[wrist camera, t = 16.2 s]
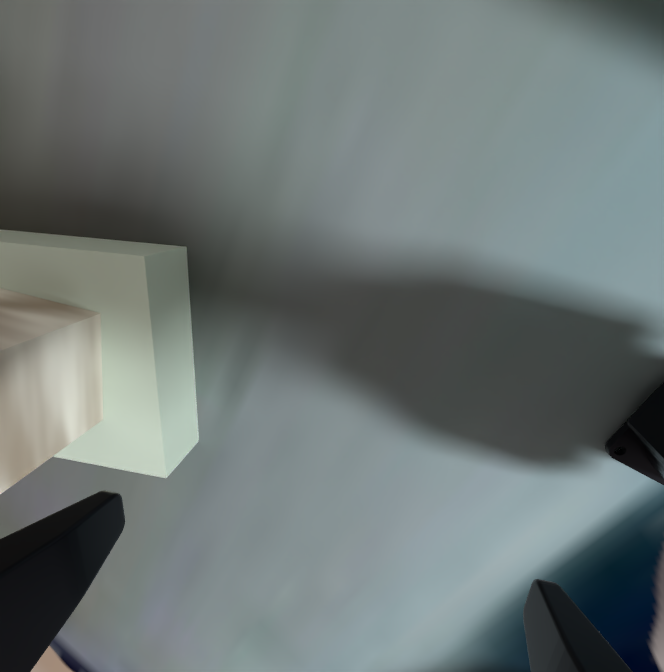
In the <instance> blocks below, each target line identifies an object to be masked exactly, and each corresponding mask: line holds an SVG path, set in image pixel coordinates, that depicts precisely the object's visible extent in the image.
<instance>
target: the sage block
mask: <svg viewBox="0 0 664 672" xmlns="http://www.w3.org/2000/svg"><path fill="white" fill-rule="evenodd" d="M0 288H2V289H6V290H10V291H14V292H18V293H22V294H26V295H30V296H34V297H38V298H42V299H46V300H50V301H54V302H58V303H62V304H66V305H70V306H74V307H78V308H82V309H86V310H90V311H94V312H98V313H101V347H102V387H103V420H102V421H101V422H99V423H98V424H96V425H95V426H94V427H92V428H91V429H90V430H88V431H87V432H85V433H84V434H83V435H81V436H80V437H79V438H77V439H76V440H74V441H73V442H72V443H70V444H69V445H68V446H66V447H65V448H63V449H62V450H61V451H59V452H58V453H57V454H55V455H54V456H53V457H58V458H63V459H69V460H74V461H79V462H84V463H89V464H95V465H100V466H105V467H110V468H116V469H121V470H126V471H131V472H136V473H142V474H147V475H152V476H157V477H163V478H167V477H168V476H169V475H170V474H171V472H172V471H173V470H174V469H175V468H176V467H177V465H178V464H179V463H180V462H181V461H182V460H183V459H184V457H185V456H186V455H187V454H188V453H189V452H190V450H191V449H192V448H193V447H194V446H195V445H196V444H197V442H198V441H199V434H198V419H197V403H196V387H195V372H194V356H193V340H192V325H191V309H190V293H189V278H188V262H187V247H184V246H174V245H163V244H152V243H141V242H130V241H120V240H109V239H98V238H87V237H77V236H66V235H55V234H44V233H34V232H23V231H12V230H1V229H0Z"/></svg>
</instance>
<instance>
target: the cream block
mask: <svg viewBox="0 0 664 672" xmlns="http://www.w3.org/2000/svg"><path fill="white" fill-rule="evenodd" d="M102 420H103V387H102V347H101V313H98V312H94V311H90V310H86V309H82V308H78V307H74V306H70V305H66V304H62V303H58V302H54V301H50V300H46V299H42V298H38V297H34V296H30V295H26V294H22V293H18V292H14V291H10V290H6V289H2V288H0V494H2V493H3V492H4V491H6V490H7V489H8V488H10V487H11V486H13V485H14V484H15V483H17V482H18V481H19V480H21V479H22V478H24V477H25V476H26V475H28V474H29V473H30V472H32V471H33V470H35V469H36V468H37V467H39V466H40V465H41V464H43V463H44V462H46V461H47V460H48V459H50V458H51V457H52V456H54V455H55V454H57V453H58V452H59V451H61V450H62V449H63V448H65V447H66V446H68V445H69V444H70V443H72V442H73V441H74V440H76V439H77V438H79V437H80V436H81V435H83V434H84V433H85V432H87V431H88V430H90V429H91V428H92V427H94V426H95V425H96V424H98V423H99V422H101V421H102Z"/></svg>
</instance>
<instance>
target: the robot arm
mask: <svg viewBox="0 0 664 672" xmlns="http://www.w3.org/2000/svg"><path fill="white" fill-rule="evenodd" d="M617 447H622V448H621V449H620V450H617V451H615V449H616V448H617ZM605 449H606V451H607V452H608V454H609V455H610V456H611V457H612V458H613V459H615V460H617V461H619V462H621V463H623V464H625V465H627V466H629V467H630V468H632V469H634V470H636V471H638V472H640V473H642V474H644V475H646V476H647V477H649V478H651V479H653V480H655V481H657V482H659V483H661V484H663V485H664V382H663V384H662V385H661V386H660V387H659V388H658V389H657V390H656V391H655V392H654V393H653V394H652V395H651V396H650V397H649V398H648V399H647V400H646V401H645V402H644V403H643V404H642V405H641V406H640V407H639V409H638V410H637V411H636V412H635V413H634V414H633V415H632V416H631V417H630V418H629V419H628V421H627V422H626V423H625V424H624V425H623V426H622V427H621V428H620V429H619V430H618V431H617V432H616V433H615V434H614V435H613V436H612V437H611V438H610V439H609V440H608V441H607V443H606V444H605ZM124 525H125V516H124V509H123V502H122V497H121V495H120V494H119V493H115V492H110V491H100V492H98V493H95V494H93V495H91V496H89V497H87V498H85V499H83V500H81V501H79V502H77V503H75V504H73V505H70V506H68V507H66V508H64V509H62V510H60V511H58V512H56V513H54V514H52V515H50V516H48V517H45V518H43V519H41V520H39V521H37V522H35V523H33V524H31V525H29V526H27V527H25V528H23V529H21V530H18V531H16V532H14V533H12V534H10V535H8V536H6V537H4V538H2V539H0V672H30V671H31V670H32V669H33V667H34V666H35V664H36V663H37V662H38V660H39V659H40V657H41V656H42V655H43V653H44V652H45V650H46V649H47V648H48V646H49V645H50V643H51V642H52V641H53V639H54V638H55V636H56V635H57V634H58V632H59V631H60V629H61V628H62V627H63V625H64V624H65V622H66V621H67V620H68V618H69V617H70V615H71V614H72V612H73V611H74V610H75V608H76V607H77V605H78V604H79V602H80V601H81V599H82V598H83V596H84V595H85V593H86V591H87V590H88V588H89V587H90V585H91V583H92V582H93V580H94V578H95V577H96V575H97V573H98V571H99V570H100V568H101V566H102V565H103V563H104V561H105V560H106V558H107V556H108V555H109V553H110V551H111V550H112V548H113V546H114V545H115V543H116V541H117V540H118V538H119V536H120V534H121V533H122V531H123V528H124ZM523 619H524V627H525V633H526V640H527V647H528V654H529V661H530V668H531V672H633V671H632V670H631V669H630V668H629V667H628V666H627V664H626V663H625V662H624V661H623V660H622V659H621V657H620V656H619V655H618V654H617V653H616V651H615V650H614V649H613V648H612V647H611V646H610V644H609V643H608V642H607V641H606V640H605V638H604V637H603V636H602V635H601V634H600V633H599V631H598V630H597V629H596V628H595V627H594V625H593V624H592V623H591V622H590V621H589V620H588V618H587V617H586V616H585V615H584V614H583V613H582V611H581V610H580V609H579V608H578V607H577V605H576V604H575V603H574V602H573V601H572V600H571V598H570V597H569V596H568V595H567V594H566V592H565V591H564V590H563V589H562V588H561V587H560V586H559V585H558V584H556V583H554V582H550V581H545V580H540V579H535V580H534V581H533V583H532V585H531V588H530V591H529V594H528V597H527V600H526V603H525V606H524V611H523Z"/></svg>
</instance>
